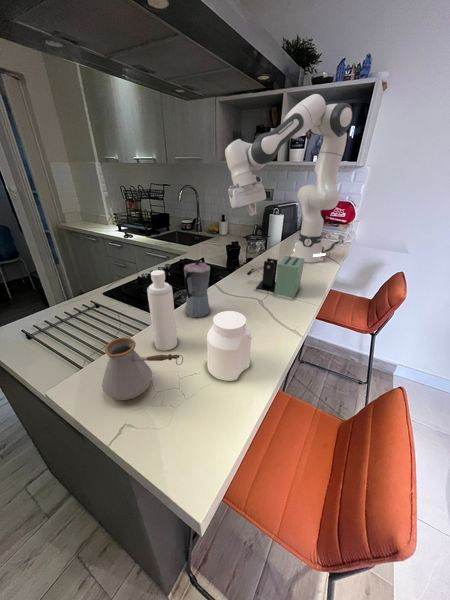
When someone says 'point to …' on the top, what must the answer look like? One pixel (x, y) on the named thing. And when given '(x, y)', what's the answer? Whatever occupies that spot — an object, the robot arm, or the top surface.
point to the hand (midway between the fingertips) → (253, 214)
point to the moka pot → (197, 288)
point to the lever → (256, 269)
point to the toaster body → (289, 276)
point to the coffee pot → (128, 370)
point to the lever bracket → (269, 276)
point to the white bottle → (162, 311)
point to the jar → (228, 346)
